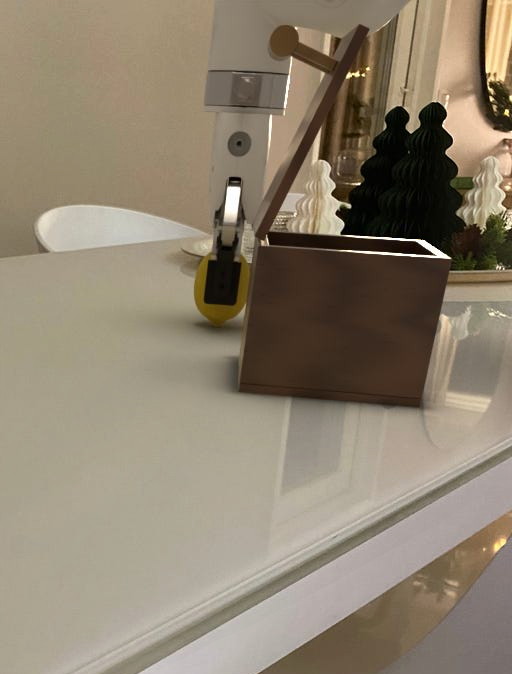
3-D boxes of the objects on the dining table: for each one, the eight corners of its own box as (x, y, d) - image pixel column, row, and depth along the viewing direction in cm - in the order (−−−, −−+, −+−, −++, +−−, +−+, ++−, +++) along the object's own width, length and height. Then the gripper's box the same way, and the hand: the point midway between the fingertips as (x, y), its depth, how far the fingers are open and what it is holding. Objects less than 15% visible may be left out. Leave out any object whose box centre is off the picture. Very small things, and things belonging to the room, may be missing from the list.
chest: (397, 373, 90) (424, 240, 85) (419, 409, 79) (452, 258, 74) (238, 360, 92) (255, 229, 87) (238, 393, 81) (258, 245, 76)
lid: (352, 41, 80) (284, 8, 80) (370, 28, 69) (291, -10, 69) (261, 225, 87) (198, 195, 86) (264, 241, 76) (191, 206, 75)
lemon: (195, 320, 109) (204, 238, 105) (248, 325, 107) (259, 243, 104) (184, 328, 104) (193, 244, 101) (239, 334, 103) (250, 248, 99)
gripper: (290, 96, 88) (259, 316, 97) (283, 100, 103) (256, 290, 112) (201, 92, 89) (178, 310, 98) (207, 96, 104) (186, 284, 113)
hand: (220, 297), depth 105 cm, fingers closed on lemon, 5 cm apart
